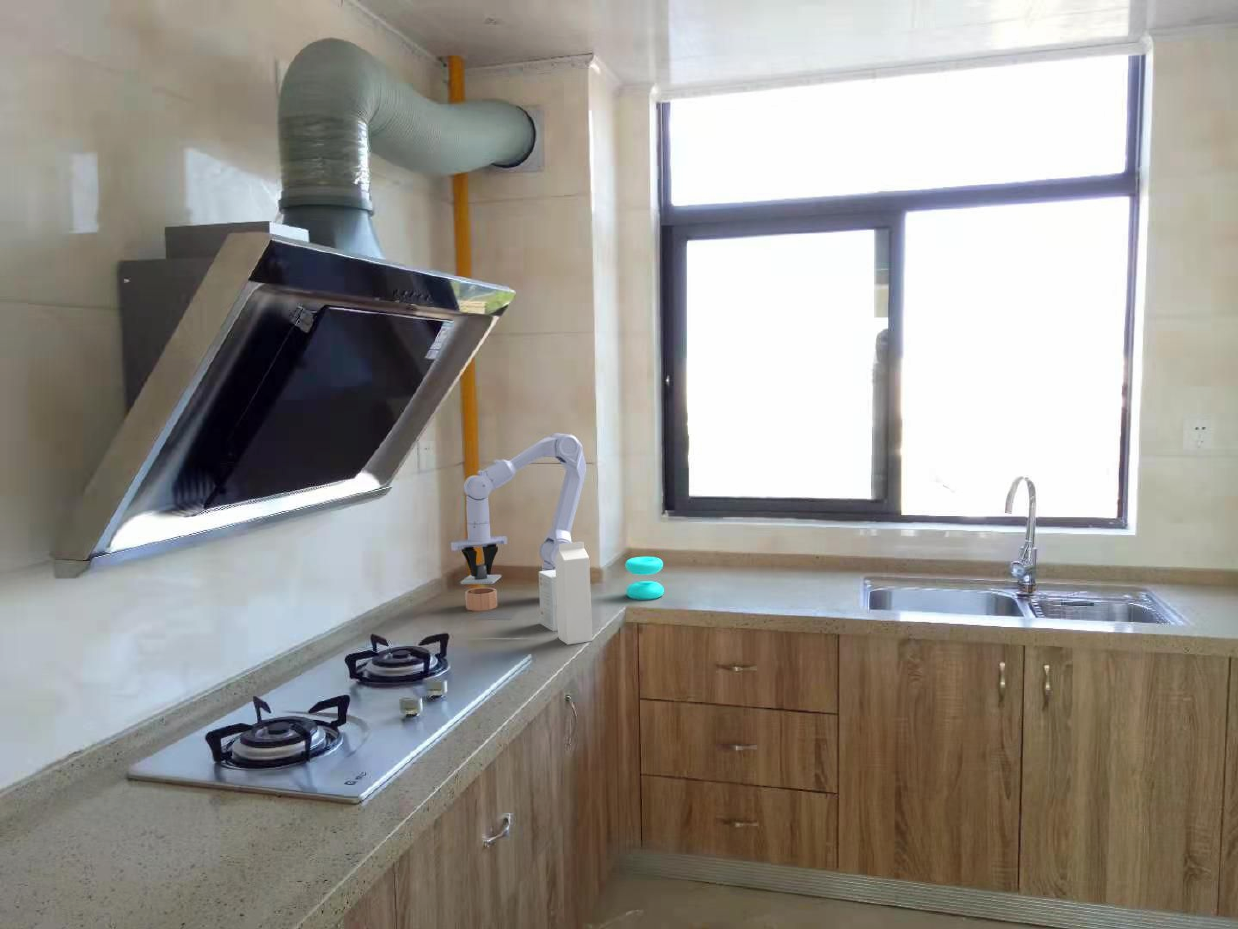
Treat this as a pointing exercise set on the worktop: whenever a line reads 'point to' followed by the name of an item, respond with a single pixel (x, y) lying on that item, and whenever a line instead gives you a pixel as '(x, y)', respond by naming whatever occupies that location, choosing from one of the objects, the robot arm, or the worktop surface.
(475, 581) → the lid
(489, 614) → the mat
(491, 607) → the bowl
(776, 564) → the worktop surface
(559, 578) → the milk
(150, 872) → the worktop surface
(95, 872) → the worktop surface
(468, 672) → the worktop surface
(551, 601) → the small box
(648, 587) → the donuts
